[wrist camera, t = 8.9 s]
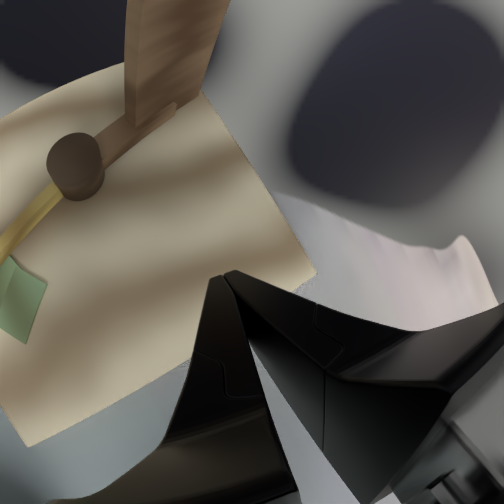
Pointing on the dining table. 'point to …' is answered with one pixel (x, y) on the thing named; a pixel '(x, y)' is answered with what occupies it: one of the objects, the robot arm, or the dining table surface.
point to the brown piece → (131, 100)
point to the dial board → (122, 253)
